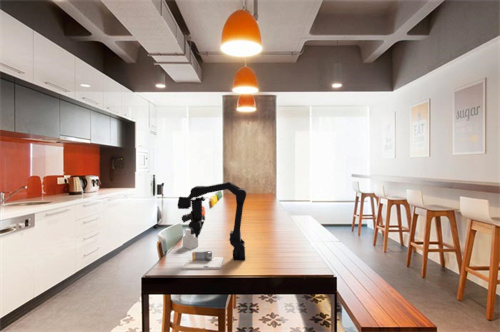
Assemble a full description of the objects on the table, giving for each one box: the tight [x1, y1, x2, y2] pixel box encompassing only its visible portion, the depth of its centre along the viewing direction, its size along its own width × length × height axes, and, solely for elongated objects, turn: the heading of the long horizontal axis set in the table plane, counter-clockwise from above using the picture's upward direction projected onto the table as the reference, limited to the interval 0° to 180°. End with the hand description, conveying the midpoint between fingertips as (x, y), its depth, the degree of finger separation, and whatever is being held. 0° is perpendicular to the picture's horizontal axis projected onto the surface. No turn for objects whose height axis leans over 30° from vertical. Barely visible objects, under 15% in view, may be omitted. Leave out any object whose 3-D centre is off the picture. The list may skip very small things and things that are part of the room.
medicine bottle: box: [182, 227, 199, 250], centre depth 182 cm, size 7×7×12 cm
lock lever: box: [191, 250, 213, 261], centre depth 156 cm, size 10×4×4 cm, turn 91°
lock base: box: [182, 256, 224, 271], centre depth 153 cm, size 20×14×1 cm
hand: (197, 236), depth 160 cm, fingers open, 5 cm apart
